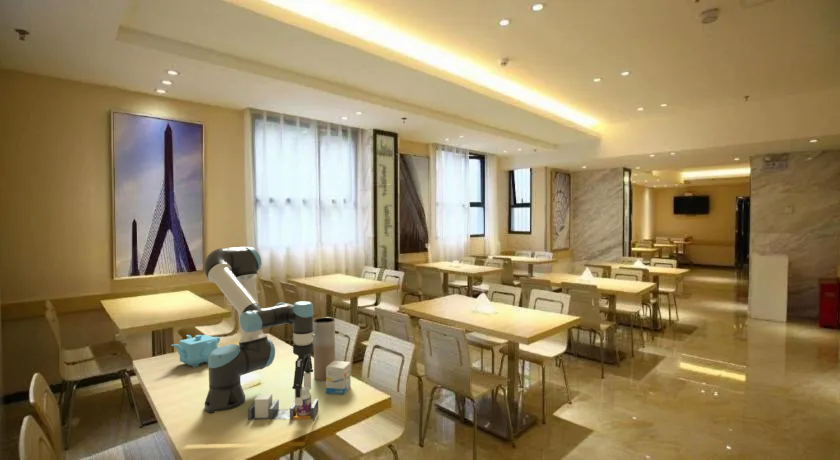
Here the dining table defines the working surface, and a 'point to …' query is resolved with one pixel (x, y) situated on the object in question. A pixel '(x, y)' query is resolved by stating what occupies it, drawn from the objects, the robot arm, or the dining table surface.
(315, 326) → the vase
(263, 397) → the filler block
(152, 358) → the dining table surface
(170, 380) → the dining table surface
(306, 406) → the pill bottle
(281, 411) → the rack
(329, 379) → the ink box
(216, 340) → the teakettle
